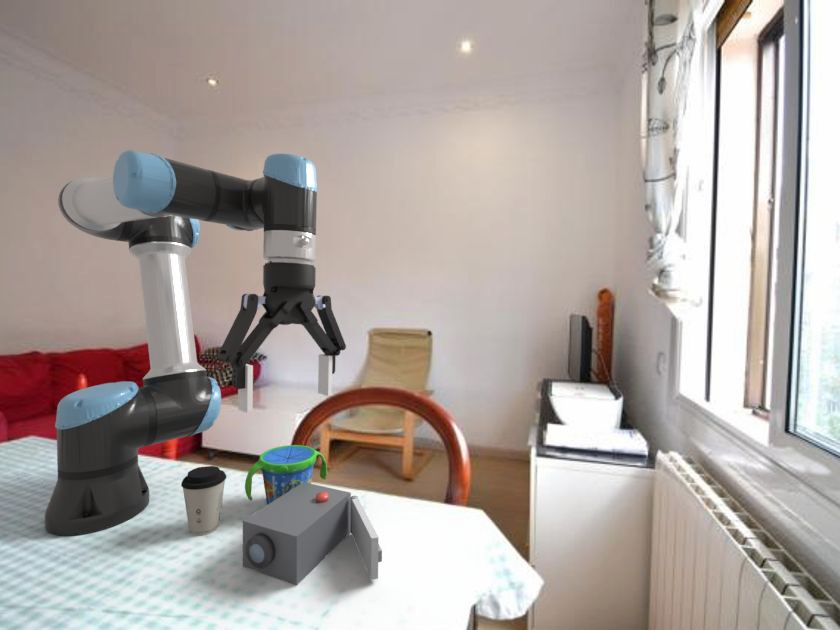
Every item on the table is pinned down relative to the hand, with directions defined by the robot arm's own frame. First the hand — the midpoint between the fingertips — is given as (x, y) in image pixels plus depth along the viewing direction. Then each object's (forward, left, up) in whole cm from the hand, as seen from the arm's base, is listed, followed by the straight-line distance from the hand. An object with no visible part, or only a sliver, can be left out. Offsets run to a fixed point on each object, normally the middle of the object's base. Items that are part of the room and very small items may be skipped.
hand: (288, 402), depth 61 cm
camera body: (0, +2, -24) cm, 25 cm away
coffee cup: (-19, 0, -25) cm, 31 cm away
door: (+11, +5, -24) cm, 27 cm away
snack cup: (-11, +12, -25) cm, 30 cm away
